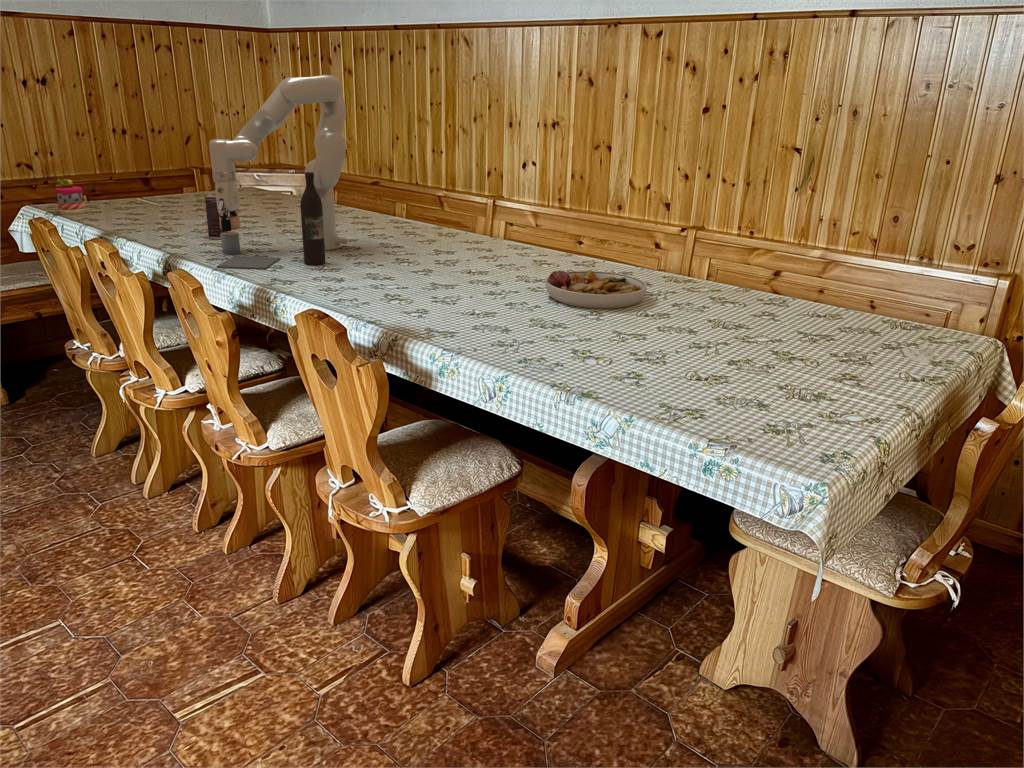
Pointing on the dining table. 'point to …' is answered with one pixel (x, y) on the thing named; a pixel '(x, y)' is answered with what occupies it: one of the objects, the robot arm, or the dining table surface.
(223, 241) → the gray cylinder
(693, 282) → the dining table surface
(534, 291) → the dining table surface
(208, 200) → the supplement box
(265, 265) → the mat
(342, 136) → the robot arm
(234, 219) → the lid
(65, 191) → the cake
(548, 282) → the bowl
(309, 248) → the wine bottle
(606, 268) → the dining table surface
